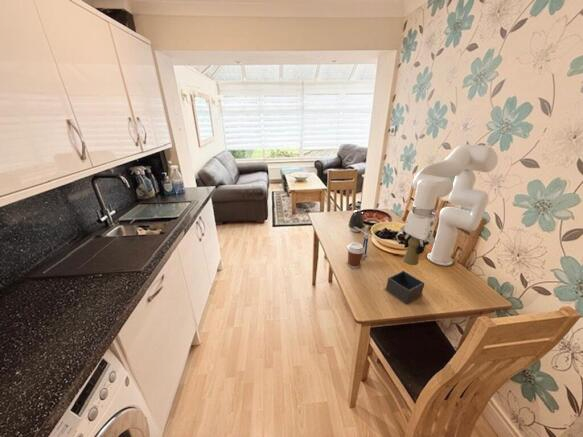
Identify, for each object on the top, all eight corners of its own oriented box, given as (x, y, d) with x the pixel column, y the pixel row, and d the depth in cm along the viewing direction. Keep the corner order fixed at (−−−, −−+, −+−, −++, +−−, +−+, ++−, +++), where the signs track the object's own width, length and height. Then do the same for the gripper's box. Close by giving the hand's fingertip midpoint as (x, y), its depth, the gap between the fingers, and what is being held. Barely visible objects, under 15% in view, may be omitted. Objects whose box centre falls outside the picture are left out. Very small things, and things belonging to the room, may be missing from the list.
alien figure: (346, 249, 146) (349, 220, 139) (352, 247, 149) (356, 218, 141) (371, 265, 130) (376, 234, 123) (378, 262, 133) (383, 232, 125)
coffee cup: (363, 270, 127) (365, 250, 122) (345, 268, 128) (347, 249, 124) (361, 260, 135) (364, 242, 130) (345, 258, 137) (347, 240, 132)
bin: (400, 281, 118) (403, 270, 115) (421, 294, 109) (424, 283, 107) (385, 289, 113) (388, 277, 110) (406, 303, 104) (409, 291, 101)
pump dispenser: (364, 233, 165) (367, 213, 159) (349, 233, 165) (351, 213, 159) (360, 227, 174) (363, 208, 168) (346, 227, 175) (348, 208, 169)
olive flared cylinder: (417, 266, 100) (423, 244, 96) (401, 262, 103) (406, 240, 99) (418, 259, 105) (424, 237, 101) (404, 255, 108) (408, 234, 103)
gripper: (449, 216, 90) (438, 256, 97) (408, 202, 103) (401, 239, 110) (438, 220, 86) (427, 262, 93) (397, 206, 99) (390, 243, 107)
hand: (413, 249), depth 102 cm, fingers closed on olive flared cylinder, 5 cm apart
